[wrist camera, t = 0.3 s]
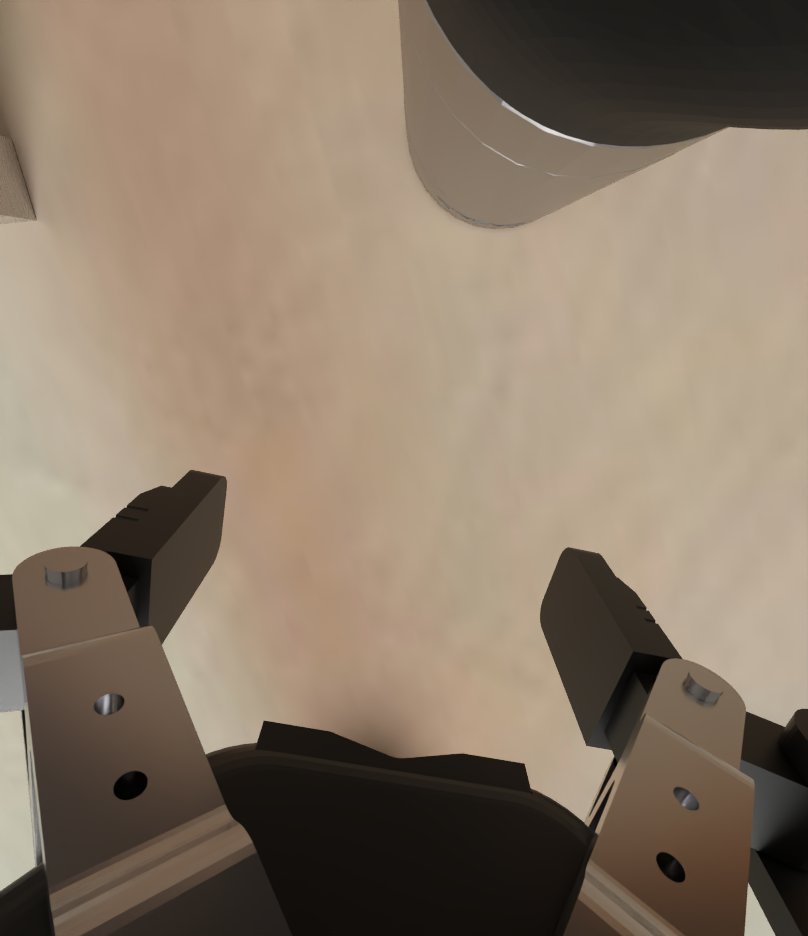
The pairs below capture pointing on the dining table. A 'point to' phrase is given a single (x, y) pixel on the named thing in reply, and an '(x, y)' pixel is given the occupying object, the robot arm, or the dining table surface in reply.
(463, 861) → the robot arm
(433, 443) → the dining table surface
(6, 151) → the grey rectangular block
